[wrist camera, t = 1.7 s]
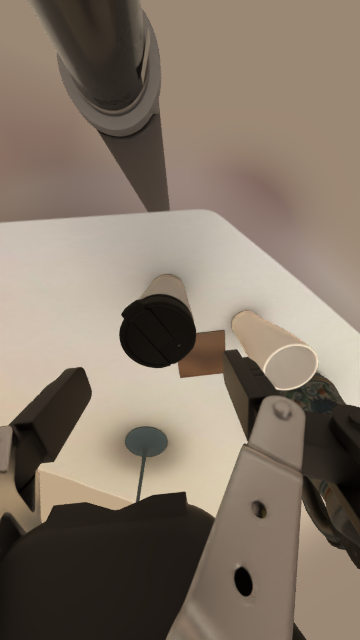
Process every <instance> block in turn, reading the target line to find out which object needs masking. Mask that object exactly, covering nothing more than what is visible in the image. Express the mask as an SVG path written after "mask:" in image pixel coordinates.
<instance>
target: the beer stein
mask: <svg viewBox="0 0 360 640" xmlns="http://www.w3.org/2000/svg"><path fill="white" fill-rule="evenodd" d="M277 391H278V392H279V393H280V395H281V396H282V397H286V398H288V399H291V400H292V401H294V402H296V403H297V404H298V405H299V406H300V407H301V408H302V409H303V410H305V411H309V412H315V413H322V414H328V415H331V413H332V409H333V408H334V407H335V406H338V405H346V404H345V402H344V401H343V399H342V398H341V396H340V395H339V393H338V391H337V389H336V387H335V386H334V385H333V383H332V382H331V381H329V380H328V379H327V378H325V377H323V376H322V375H320V374H318V373H316V372H315V374H314V375H313V377H312V378H311V379H310V380H309V381H308V382H306V383H305V384H304V385H302V386H300V387H298V388H295V389H292V390H277ZM320 494H321V495H322V497H323V499H324V500H325V502H326V507H325V504H324V502H323V500H322V498H321V495H320ZM302 501H303V503H304V506H305V509H306V511H307V513H308V514H309V516H310V518H311V519H312V521H313V523H314V524H315V526H316V527H317V528H318V530H319V531H320V532H321V533H322V534H323V535H324V536H325V537H326V539H327V540H328V542H329V543H330V544H331V545H332V546H334V547H337V548H338V549H343V550H346V551H347V553H348V555H349V556H350V558H351V560H352V561H353V563H354V564H355V565H356V566H357V568H358V569H360V535H359V534H358V532H357V530H356V529H355V527H354V526H353V524H352V522H351V521H350V519H349V518H348V516H347V514H346V513H345V511H344V509H343V508H342V506H341V505H340V503H339V501H338V500H337V498H336V496H335V495H334V493H333V492H332V490H331V488H330V487H329V485H328V483H327V482H326V481H323V480H319V479H315V478H311V477H307V476H303V484H302Z"/></svg>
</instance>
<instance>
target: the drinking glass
mask: <svg viewBox="0 0 360 640" xmlns="http://www.w3.org/2000/svg"><path fill="white" fill-rule="evenodd" d="M232 330H233V332H234V333H235V334H236V336H237V338H238V340H239V341H240V343H241V345H242V347H243V349H244V351H245V353H246V354H247V356H248V358H250V359H252V360H253V361H255V362H256V363H257V364H258V366H259V367H260V368H261V370H262V371H263V372H264V374H265V375H266V376H267V377H268V379H269V380H270V381H271V383H272V384H273V385H274V387H275V388H276V389H277V390H292V389H295V388H298V387H300V386H302V385H304V384H305V383H306V382H308V381H309V380H310V379H311V378H312V377H313V375H314V374H315V372H316V370H317V367H318V357H317V354H316V352H315V351H314V350H313V349H312V348H311V347H310V346H308V345H307V344H306V343H304V342H303V341H302V340H300V339H299V338H298V337H296V336H295V335H293V334H291V333H290V332H288V331H286V330H285V329H283V328H281V327H279V326H277V325H275V324H273V323H271V322H269V321H267V320H265V319H263V318H261V317H259V316H258V315H256V314H255V313H253V312H250V311H244V312H241V313H239V314H237V315H236V316H235V317H234V319H233V321H232Z"/></svg>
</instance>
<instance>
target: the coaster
mask: <svg viewBox="0 0 360 640" xmlns="http://www.w3.org/2000/svg"><path fill="white" fill-rule="evenodd" d="M223 351H225V331H224V330H221V331H212V332H204V333H196V342H195V345H194V348H193V349H192V350H191V351H190V353H189V354H188V355H186V357H184V358H183V359H182V360H181V361H179V362H178V365H179V372H180V378H185V377H194V376H202V375H211V374H220V373H223Z"/></svg>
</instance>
